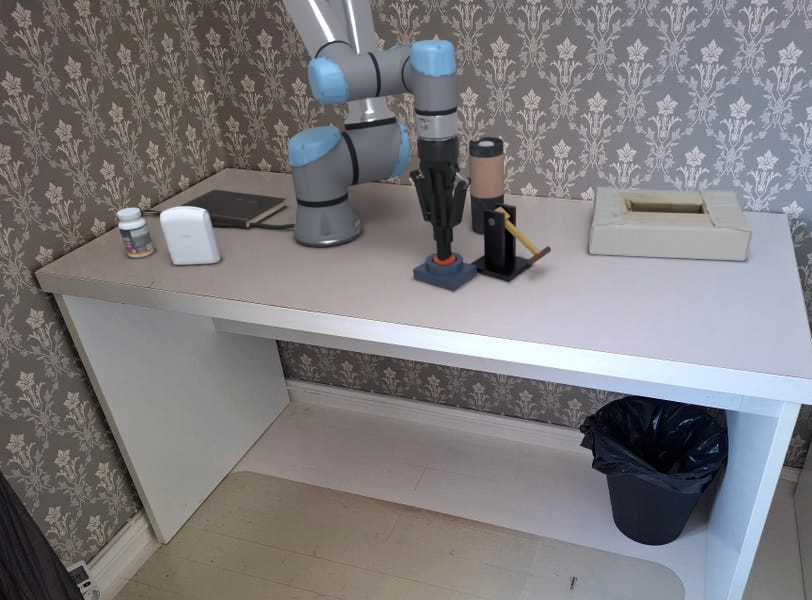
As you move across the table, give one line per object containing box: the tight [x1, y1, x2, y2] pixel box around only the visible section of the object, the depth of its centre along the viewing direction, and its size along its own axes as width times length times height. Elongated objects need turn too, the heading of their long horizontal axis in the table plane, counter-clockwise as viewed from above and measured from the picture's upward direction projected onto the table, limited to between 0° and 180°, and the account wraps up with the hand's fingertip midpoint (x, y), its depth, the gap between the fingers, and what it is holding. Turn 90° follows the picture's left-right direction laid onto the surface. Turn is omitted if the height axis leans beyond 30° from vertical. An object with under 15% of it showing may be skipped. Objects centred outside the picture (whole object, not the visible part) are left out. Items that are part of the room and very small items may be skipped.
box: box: [588, 186, 753, 262], centre depth 148 cm, size 23×8×32 cm
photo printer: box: [159, 205, 221, 266], centre depth 144 cm, size 10×4×12 cm, turn 90°
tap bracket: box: [470, 203, 533, 283], centre depth 136 cm, size 10×9×13 cm
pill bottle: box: [116, 207, 155, 259], centre depth 150 cm, size 6×6×10 cm
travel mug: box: [468, 136, 505, 235], centre depth 152 cm, size 8×8×20 cm
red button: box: [433, 255, 456, 265], centre depth 135 cm, size 4×4×2 cm
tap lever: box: [494, 207, 552, 266], centre depth 133 cm, size 13×7×2 cm
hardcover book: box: [178, 188, 288, 230], centre depth 172 cm, size 16×23×2 cm
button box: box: [412, 251, 478, 292], centre depth 136 cm, size 10×8×4 cm
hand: (444, 257), depth 134 cm, fingers closed
